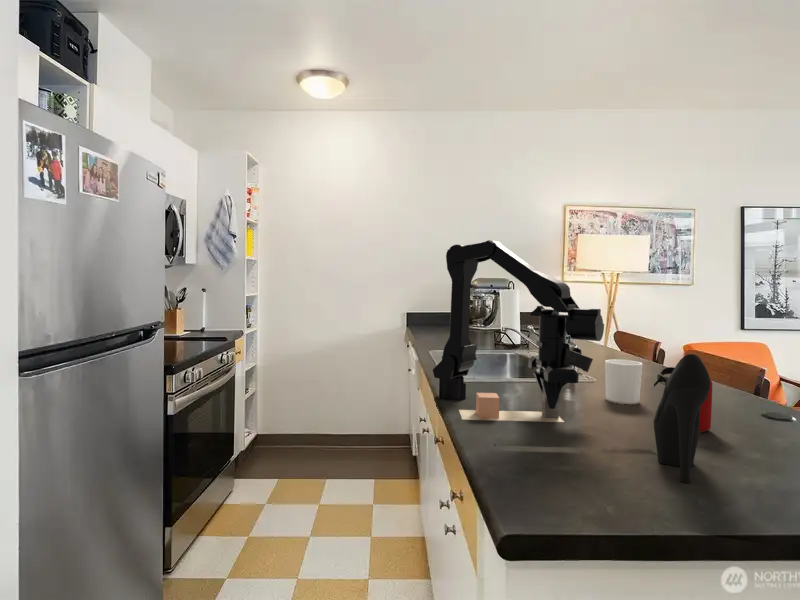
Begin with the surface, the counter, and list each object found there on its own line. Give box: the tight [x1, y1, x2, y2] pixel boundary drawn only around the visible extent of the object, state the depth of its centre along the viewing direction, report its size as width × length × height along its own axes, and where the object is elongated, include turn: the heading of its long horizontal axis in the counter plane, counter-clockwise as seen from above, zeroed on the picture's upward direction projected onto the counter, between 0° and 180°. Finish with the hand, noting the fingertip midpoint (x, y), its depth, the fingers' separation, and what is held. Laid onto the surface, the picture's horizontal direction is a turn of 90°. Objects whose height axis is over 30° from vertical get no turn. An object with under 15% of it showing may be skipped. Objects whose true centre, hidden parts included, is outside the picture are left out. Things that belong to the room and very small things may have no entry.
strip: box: [458, 389, 565, 423], centre depth 109 cm, size 22×8×8 cm, turn 88°
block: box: [475, 392, 500, 418], centre depth 109 cm, size 4×4×4 cm
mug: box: [604, 358, 644, 406], centre depth 129 cm, size 11×9×10 cm
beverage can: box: [699, 378, 713, 433], centre depth 104 cm, size 7×7×12 cm
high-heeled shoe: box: [653, 353, 711, 484], centre depth 82 cm, size 8×19×20 cm, turn 161°
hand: (550, 406), depth 109 cm, fingers closed on strip, 2 cm apart
